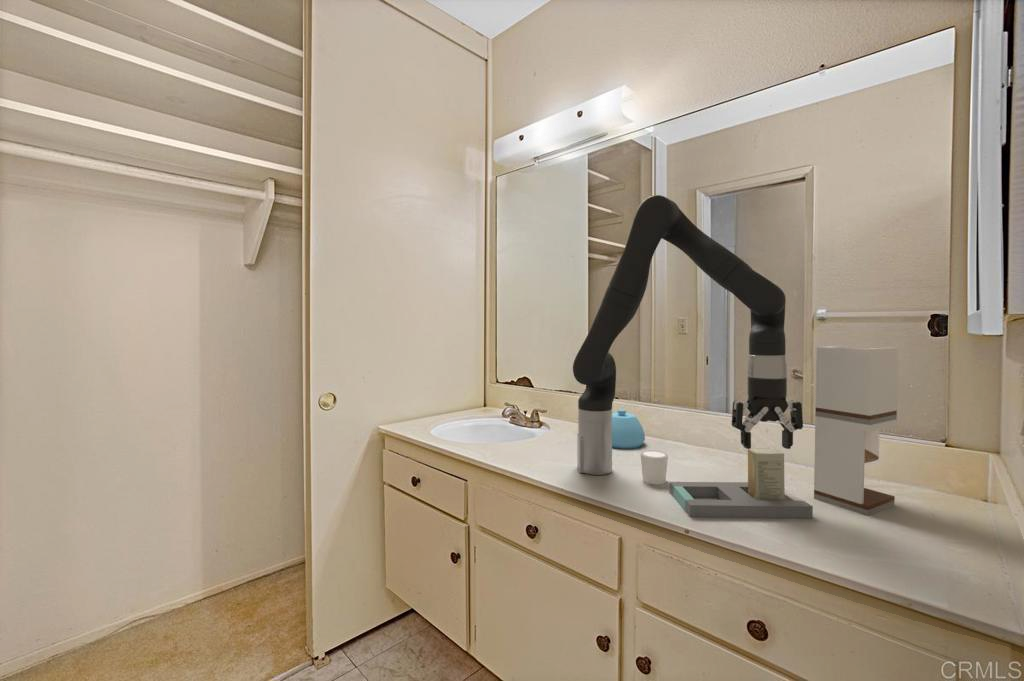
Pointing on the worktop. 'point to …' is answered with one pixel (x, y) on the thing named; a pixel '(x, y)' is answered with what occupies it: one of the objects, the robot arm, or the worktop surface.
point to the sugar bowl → (626, 430)
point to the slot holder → (735, 501)
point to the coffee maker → (852, 422)
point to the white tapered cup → (654, 466)
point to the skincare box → (766, 474)
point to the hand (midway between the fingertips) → (766, 448)
